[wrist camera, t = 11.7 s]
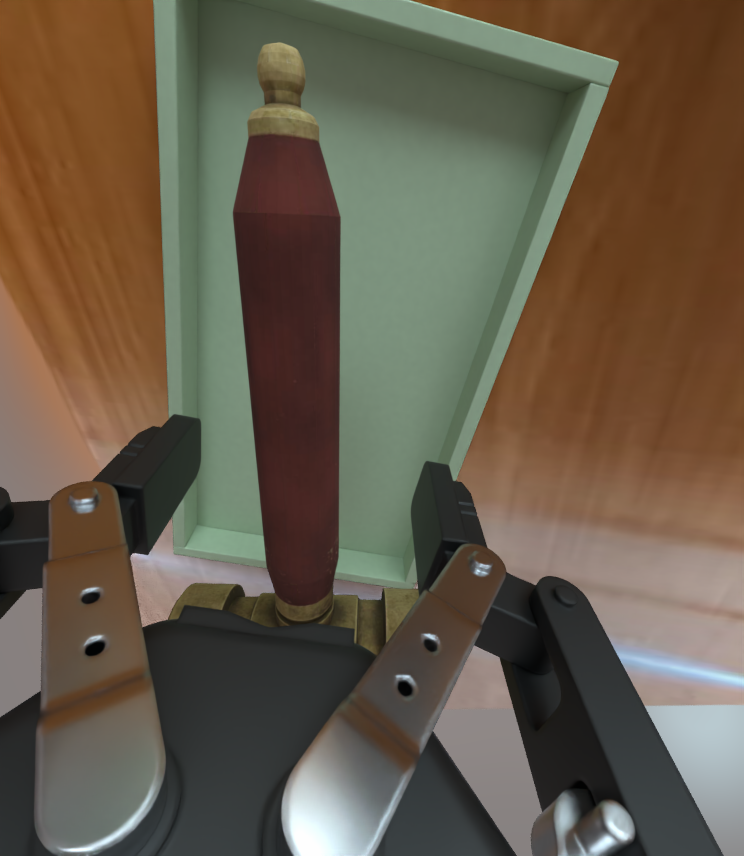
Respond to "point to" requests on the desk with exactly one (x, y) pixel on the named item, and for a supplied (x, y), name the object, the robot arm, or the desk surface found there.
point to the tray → (363, 239)
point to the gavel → (294, 368)
